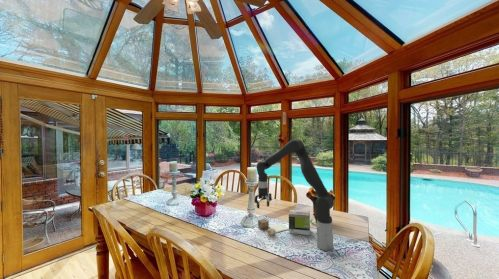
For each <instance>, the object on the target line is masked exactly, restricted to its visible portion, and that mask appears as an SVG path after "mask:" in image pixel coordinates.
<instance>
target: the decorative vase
mask: <svg viewBox="0 0 499 279" xmlns="http://www.w3.org/2000/svg"><path fill="white" fill-rule="evenodd" d="M328 193H329V194H330V196H331V197H332V199H333V201H335V200H336V195H335V193H334V190H333V189H329V191H328ZM305 197H306V198H308V199H309V200H310V201H311V202H312V209H313V210H312V211H313V214H312V216H313V217H312V218H310V225H313V226H316V227H317V217H316V200H317V199H318V198H319V197H318V195H317V193H316V191H315V190H314V188H313V187H312V186H310V187H309V188H308V192H306V193H305Z"/></svg>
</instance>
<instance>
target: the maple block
mask: <svg viewBox="0 0 499 279" xmlns="http://www.w3.org/2000/svg"><path fill="white" fill-rule="evenodd" d="M266 230H267V232H266V233H267V234H266V235H267V236H269V237H274V236H276V232H275V229H272V228H269V229H266Z"/></svg>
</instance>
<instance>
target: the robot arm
mask: <svg viewBox="0 0 499 279" xmlns="http://www.w3.org/2000/svg"><path fill="white" fill-rule="evenodd" d="M294 153H295V154H296V156H297V158H298V160H299V164H300V170H301V174H302V176H303V178H304V180H305V181H306V182H307V183H308V185H309V186H310V187H313V188H314V191H316V193H317V195H318V197H319V198H318V199H317V200H316V217H317V226H316V246H317V249H319V250H322V251H325V252H328V251H331V250H334V234H333V217H332V216H331V209H332V208H333V207H334V205H335V202H334V201H335V200H334V201H333V199H332V197H331V196H330V194H329V193H328V192H329V191H328V190H327V188H326V187H325V185H324V183H323V182H324V181H322V179H321V177H320V175H319V173H318V171H317V169H316V166H315V165H314V163H313V162H312V160H311V157H310V156H309V154H308V152H307V149H306V147H305V144H304V142H303V141H302V140H301V139H299V138H298V139H294V138H293V139H291V140H289V141H288V142H287V143H286V144H284V146H282V147H281V148H280V149H279V150H277V151H275V152H273V153H272V154H270V155H268V156H267V157H266V159H264V160H261V161H258V162H257V163H256V171H257V176H258V183H257V187H258V189H257V193H258V194H254V199H253V200H254V201H253V202H254V203H255V204H256V208H257V209H260V203H261V202H262V201H265V200H266V206H267V207H269V206H270V202H271V201H272V198H273V197H272V193H271V192H269V182H268V181H269V180H268V173H266V172H265V171H266V170H268V169H269V168H271V167H272V166H274V165H276V164H277V163H278V162H280V161H281V160H282V159H283V158H285V157H286V156H288V155H291V154H294Z"/></svg>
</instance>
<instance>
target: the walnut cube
mask: <svg viewBox="0 0 499 279" xmlns="http://www.w3.org/2000/svg"><path fill="white" fill-rule="evenodd" d="M269 226H270V222H269V220H268V219H266V218H262V219H257V228H258V229H260V230H261V231H265V230H268V229H270V228H269Z"/></svg>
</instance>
